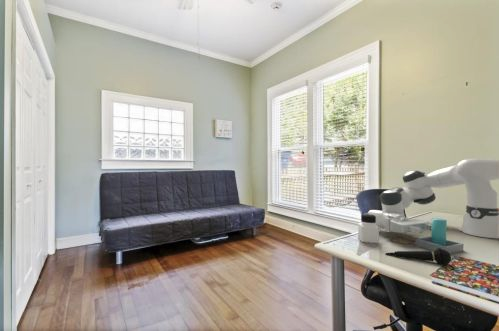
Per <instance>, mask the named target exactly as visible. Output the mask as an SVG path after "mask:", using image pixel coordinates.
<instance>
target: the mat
mask: <svg viewBox="0 0 499 331" xmlns="http://www.w3.org/2000/svg"><path fill="white" fill-rule="evenodd" d="M416 239H419V237H416V236H410V235H408V234H407V235H406V234H402V235H401V234H400V235H394V236H389V237H388V240H391V241H394V242H397V243H401V244H403V245H408V244H413V243H415V240H416Z"/></svg>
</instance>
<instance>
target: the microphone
mask: <svg viewBox="0 0 499 331" xmlns="http://www.w3.org/2000/svg"><path fill="white" fill-rule="evenodd" d="M385 255H386V256H391V257H392V256H393V257H395V258H402V259H408V260H419V261H427V262H436V263H437V264H440V265H442V266H444V265H448V264H450V263H451V261H452V256H451V254H450V253H449V252H448V251H446V250H444V249H441V248H437V249H436V250H434V251H432V250H398V251H394V252H385Z"/></svg>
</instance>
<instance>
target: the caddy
mask: <svg viewBox="0 0 499 331" xmlns="http://www.w3.org/2000/svg"><path fill="white" fill-rule="evenodd" d="M418 238H419V237H418ZM414 243H415V246H416V247H420V248H422V249H425V250H426V249H427V250H428V251H432V252H433V251H434V250H436V249H437V248H441V249H444V250H446V251H448V252H449V253H450V255H451V254H452V255H453V254H455V253H460V252H463V251H464V243H461V242H457V241H454V240H453V241H452V240H449V239H446V247H445V246H441V245H438V244H434V243H431V236H427V237H420V238H419V239H416V240H415V242H414Z"/></svg>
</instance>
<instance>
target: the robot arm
mask: <svg viewBox="0 0 499 331" xmlns="http://www.w3.org/2000/svg"><path fill="white" fill-rule="evenodd" d="M497 180H499V160H498V159H496V158H495V159H494V158H474V157H473V158H468V159H463V160H460V161H459V162H458V163H457V164H455V165H451V166H448V167H447V166H446V167H443V168H440V169H436V170H434V171H432V172H430V173H428V174H426V173H425V172H424V171H419V170H410V171H407V172H406V173H405V174H404V175H403V176H402V181H403V183H404V184H405V185H406V186H405V187H404V186H403V187H393V188H390V189H388V190H384V191H382V193H381V194H380V195H379V199H380V204H381V208H382V209H381V210H380V209H379V210H378V209H370V210H369V211H368V212H367V214H372V215H374V216H376V224H375V225H376V226H377V227H379V229H380V228H381V229H385V231H386V232H390V233H391V232H392V233H398V234H405V233H412V232H413V233H419V234H420V233H421V234H422V233H423V231H425V230H429V231H431V225H432V224H431V223H430V221H428V220H424V219H418V218H417V219H416V218H410V219H408V218H407V217H406V216H405V209H408V208H409V207H410V206H412V203H414V204H418V205H422V206H424V205H429V204H432V203H433V202H434V201H435V200H436V194H435V192H433V191H434V190H433V189H432V188H435V189H442V188H449V187H454V186H460V185H465V189H466V193H467V194H466V198H467V202H466V203H467V204H466V206H465V212H466V213H465V214H464V215H463V216H462V223H461V224H462V225H461V227H459V228H458V231H460V232H463V234H464V233H465V234H467V235H470V236H476V237H481V238H488V239H499V208H498V194H497V191H496V190H495V189H494V188H493V187H492V185H491V182H490V181H497Z"/></svg>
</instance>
